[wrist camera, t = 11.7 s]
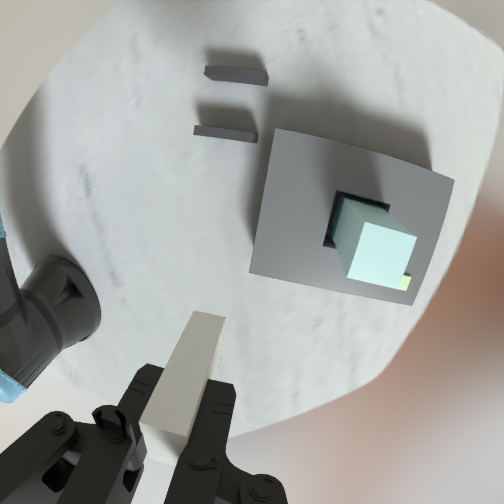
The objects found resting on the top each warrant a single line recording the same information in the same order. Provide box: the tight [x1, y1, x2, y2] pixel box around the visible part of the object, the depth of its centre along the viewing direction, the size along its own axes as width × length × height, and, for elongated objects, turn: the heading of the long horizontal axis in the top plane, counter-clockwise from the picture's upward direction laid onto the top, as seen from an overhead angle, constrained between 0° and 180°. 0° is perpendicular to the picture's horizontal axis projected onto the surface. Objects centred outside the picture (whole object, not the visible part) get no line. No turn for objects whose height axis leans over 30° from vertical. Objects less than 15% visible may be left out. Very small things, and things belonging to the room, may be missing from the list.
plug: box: [329, 192, 417, 289], centre depth 23 cm, size 4×4×12 cm
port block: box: [249, 128, 455, 306], centre depth 28 cm, size 18×14×5 cm
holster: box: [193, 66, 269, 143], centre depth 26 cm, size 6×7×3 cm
